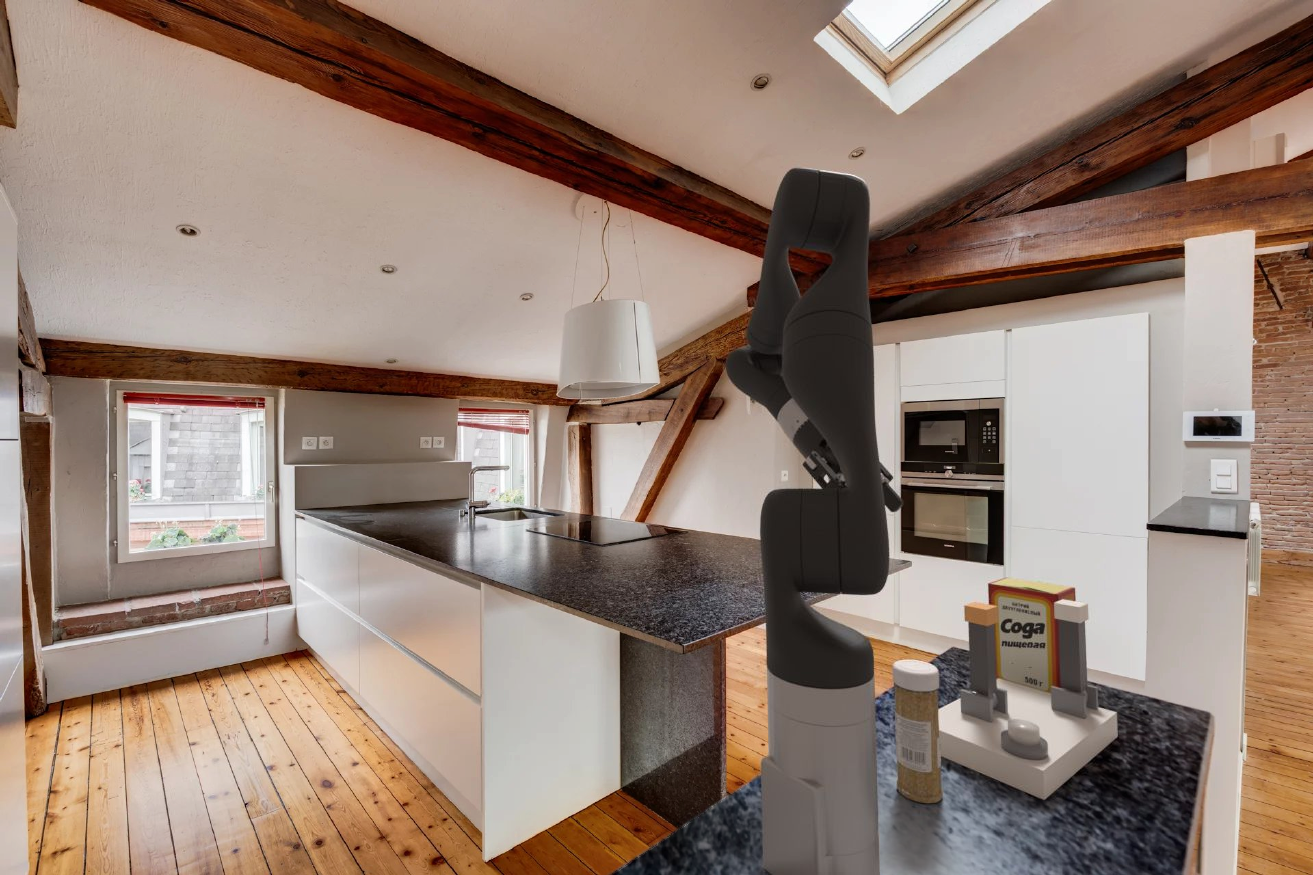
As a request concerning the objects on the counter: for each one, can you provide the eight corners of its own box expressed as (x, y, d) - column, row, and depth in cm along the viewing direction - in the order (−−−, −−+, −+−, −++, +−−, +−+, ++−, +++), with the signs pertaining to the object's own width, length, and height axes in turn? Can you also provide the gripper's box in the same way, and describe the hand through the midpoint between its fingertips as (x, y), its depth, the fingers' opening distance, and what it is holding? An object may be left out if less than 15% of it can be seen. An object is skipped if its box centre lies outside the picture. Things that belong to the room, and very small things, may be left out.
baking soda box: (991, 684, 89) (987, 580, 89) (1009, 674, 93) (1006, 575, 93) (1062, 705, 81) (1058, 592, 82) (1079, 693, 85) (1075, 585, 86)
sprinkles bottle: (951, 795, 61) (947, 666, 61) (926, 810, 58) (922, 676, 58) (911, 775, 64) (908, 654, 65) (886, 789, 62) (883, 663, 62)
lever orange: (990, 716, 71) (987, 609, 71) (967, 708, 73) (964, 605, 74) (1001, 710, 73) (997, 606, 73) (978, 702, 75) (974, 601, 75)
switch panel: (1044, 799, 59) (1042, 743, 60) (916, 745, 71) (915, 698, 71) (1117, 736, 72) (1115, 689, 72) (999, 699, 84) (997, 658, 84)
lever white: (1083, 712, 72) (1079, 607, 72) (1057, 705, 74) (1054, 602, 74) (1091, 706, 73) (1087, 603, 74) (1066, 699, 75) (1062, 599, 76)
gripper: (793, 408, 82) (867, 494, 72) (855, 411, 90) (929, 488, 80) (767, 446, 86) (833, 532, 76) (829, 445, 94) (896, 523, 84)
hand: (882, 509), depth 78 cm, fingers open, 7 cm apart
